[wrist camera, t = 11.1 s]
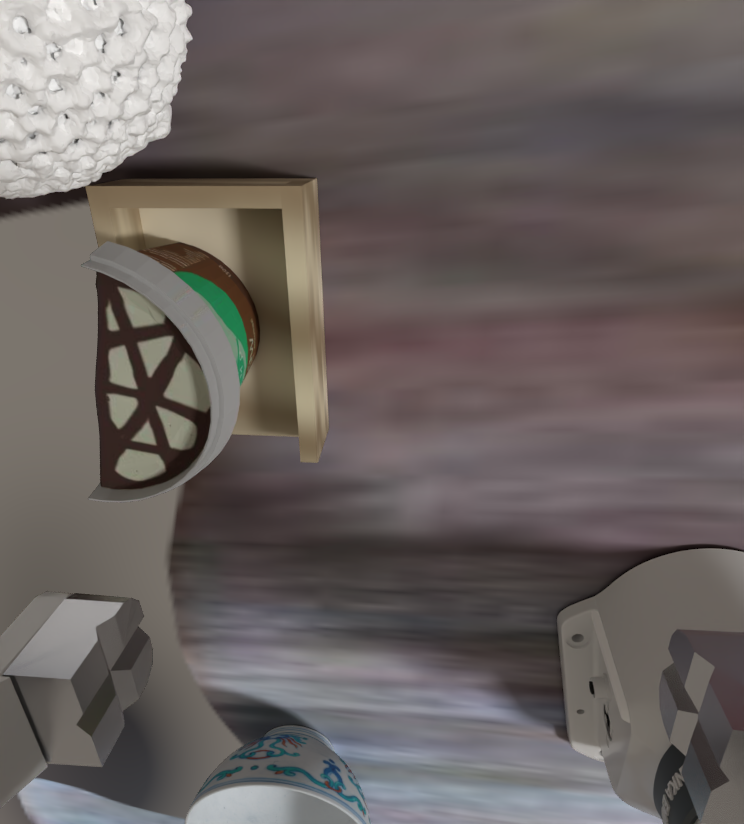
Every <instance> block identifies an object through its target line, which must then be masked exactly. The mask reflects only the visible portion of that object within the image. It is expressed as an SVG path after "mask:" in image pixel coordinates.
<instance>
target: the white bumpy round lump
mask: <svg viewBox="0 0 744 824" xmlns="http://www.w3.org/2000/svg"><path fill="white" fill-rule="evenodd" d="M191 15H192V8H191V6H190V5H188V4H186V3H185V0H0V197H5V198H6V199H9V198H10V199H14V198H16V197H20V198H22V197H24V198H25V197H30V198H32V197H33V198H34V197H36V196H40V195H46V194H48V193H50V192H51V193H53V192H67V191H69V190H71V189H77V188H80V187H82V186H83V187H84V186H87V185H89V184H90V183H91V181H92V182H96V181H97V180H99V179H100V178H101V175H102V173H105V172H108V171H112V170H113V169H114V168H116V167H117V166H118V165H120V164H121V163H123V161H124V160H125V158H126V157H127V156H128V157H129V156H133V155H134V154H135V153H137V152H139V151H141V150H143V149H144V148H146V146H147V144H148V142H151V141H154V140H157V139H163V138H165V137H166V136H167V135H168V134H169V133H170V130H171V125H170V123H171V117H172V109H171V106H170V103H171V102H172V100H173V96H175V95H176V93H177V91H178V89H177V86H178V83H179V82H180V81H181V75H180V73H181V72H182V69H181V64H182V63H183V62H185V61H186V54H187V52H188V51H187V48H186V44H187V43H188V42H189V41H191V40H193V39H192V36H191V33H190V32H189V31H188V28H187V27H186V23H187V20H188V18H189V17H190V16H191Z"/></svg>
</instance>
